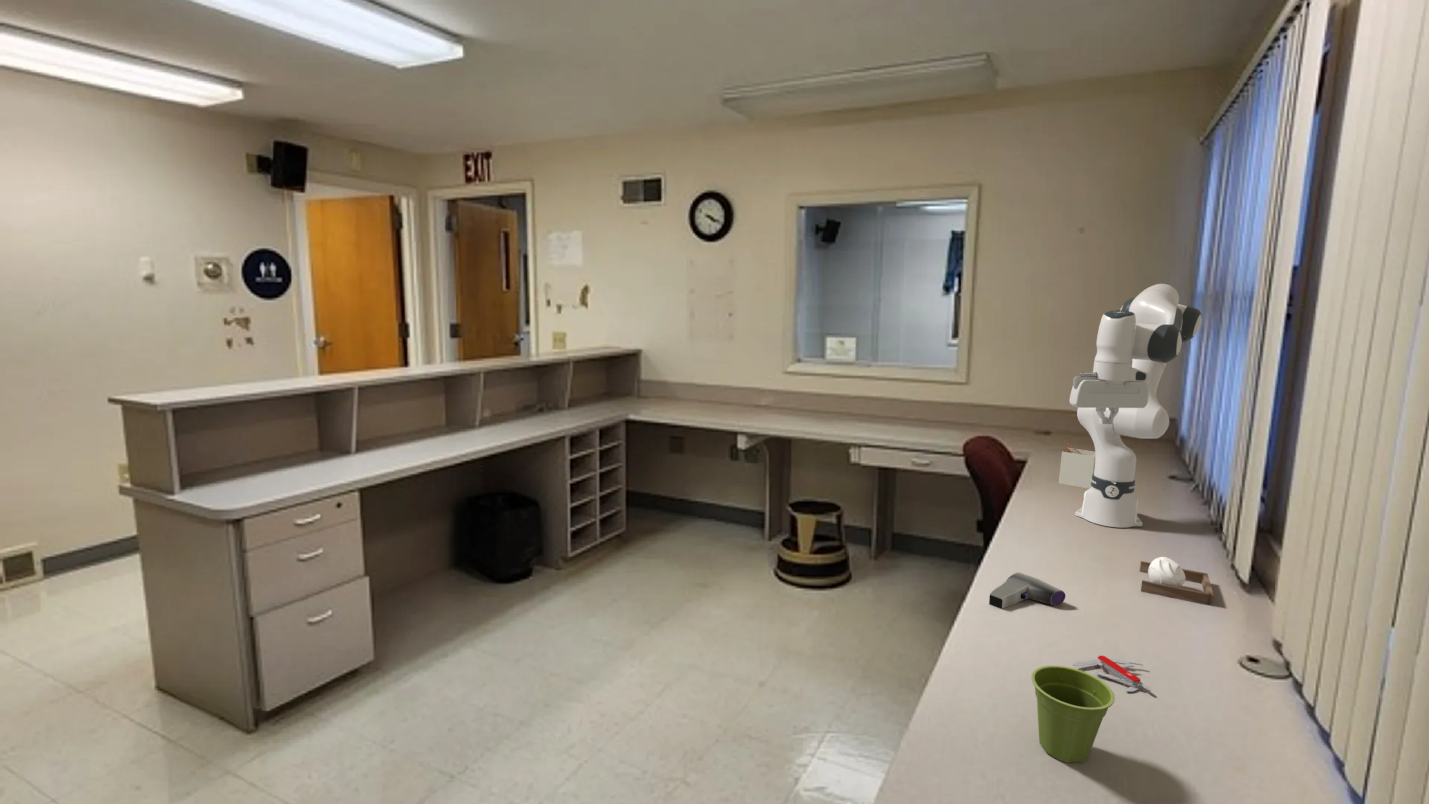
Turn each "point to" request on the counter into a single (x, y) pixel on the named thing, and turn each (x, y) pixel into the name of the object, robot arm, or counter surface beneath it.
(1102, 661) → the swiss army knife
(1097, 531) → the counter surface
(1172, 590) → the bay
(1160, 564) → the white sculpted ball
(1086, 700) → the plant pot
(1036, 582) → the infrared thermometer
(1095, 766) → the counter surface
